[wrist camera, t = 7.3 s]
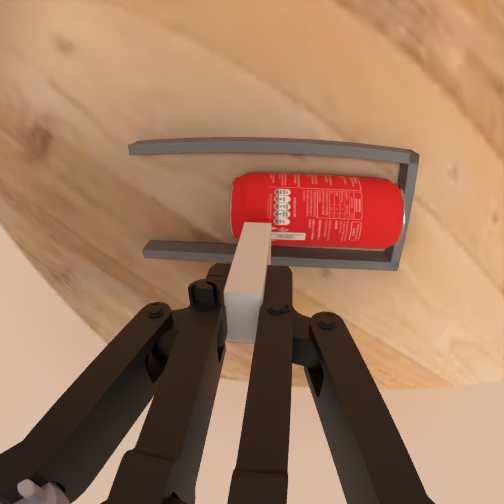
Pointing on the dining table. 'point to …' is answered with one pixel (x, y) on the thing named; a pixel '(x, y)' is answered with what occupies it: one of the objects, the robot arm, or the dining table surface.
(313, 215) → the beverage can
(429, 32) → the dining table surface
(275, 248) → the grey u-shaped frame
